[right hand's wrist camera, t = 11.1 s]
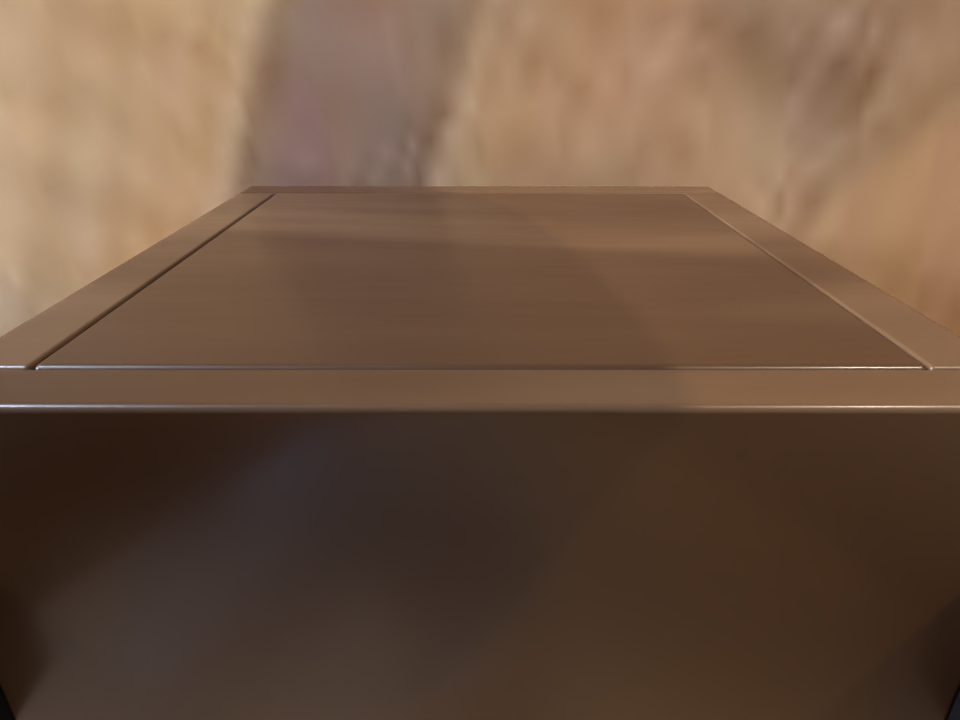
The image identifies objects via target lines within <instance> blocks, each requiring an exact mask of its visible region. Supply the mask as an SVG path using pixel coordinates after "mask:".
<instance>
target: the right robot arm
mask: <svg viewBox="0 0 960 720" xmlns="http://www.w3.org/2000/svg"><path fill="white" fill-rule="evenodd" d="M0 720H14V718H13V715H12V713H11V711H10V708H9V706H8V703H7V701H6V699H5V696H4V694H3V691H2V689H1V687H0ZM946 720H960V687H959V689H958V691H957V694H956V696H955V699H954V701H953V703H952V706H951V708H950V711H949V713H948V715H947V718H946Z"/></svg>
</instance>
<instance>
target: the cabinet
mask: <svg viewBox="0 0 960 720" xmlns="http://www.w3.org/2000/svg"><path fill="white" fill-rule="evenodd" d="M0 687H1V689H2V691H3V694H4V696H5V699H6V701H7V703H8V706H9V708H10V711H11V713H12V715H13V718H14V720H946V718H947V715H948V713H949V711H950V708H951V706H952V703H953V701H954V699H955V696H956V694H957V691H958V689H959V687H960V337H959V336H958V335H956V334H954V333H953V332H951V331H949V330H948V329H946V328H944V327H943V326H941V325H939V324H938V323H936V322H934V321H933V320H931V319H929V318H927V317H926V316H924V315H922V314H921V313H919V312H917V311H916V310H914V309H912V308H911V307H909V306H907V305H906V304H904V303H902V302H901V301H899V300H897V299H896V298H894V297H892V296H891V295H889V294H887V293H886V292H884V291H882V290H881V289H879V288H877V287H876V286H874V285H872V284H871V283H869V282H867V281H866V280H864V279H862V278H861V277H859V276H857V275H855V274H854V273H852V272H850V271H849V270H847V269H845V268H844V267H842V266H840V265H839V264H837V263H835V262H834V261H832V260H830V259H829V258H827V257H825V256H824V255H822V254H820V253H819V252H817V251H815V250H814V249H812V248H810V247H809V246H807V245H805V244H804V243H802V242H800V241H799V240H797V239H795V238H794V237H792V236H790V235H789V234H787V233H785V232H783V231H782V230H780V229H778V228H777V227H775V226H773V225H772V224H770V223H768V222H767V221H765V220H763V219H762V218H760V217H758V216H757V215H755V214H753V213H752V212H750V211H748V210H747V209H745V208H743V207H742V206H740V205H738V204H737V203H735V202H733V201H732V200H730V199H728V198H727V197H725V196H723V195H722V194H719V193H718V192H716V191H714V190H713V189H711V188H709V187H280V186H252V187H250V188H248V189H246V190H245V191H243V192H241V193H240V194H238V195H236V196H234V197H233V198H231V199H229V200H228V201H226V202H224V203H223V204H221V205H220V206H218V207H216V208H215V209H213V210H211V211H210V212H208V213H206V214H205V215H203V216H201V217H200V218H198V219H196V220H195V221H193V222H191V223H190V224H188V225H186V226H185V227H183V228H181V229H180V230H178V231H176V232H175V233H173V234H171V235H170V236H168V237H166V238H165V239H163V240H161V241H160V242H158V243H156V244H155V245H153V246H151V247H150V248H148V249H146V250H145V251H143V252H141V253H140V254H138V255H136V256H135V257H133V258H131V259H130V260H128V261H126V262H125V263H123V264H121V265H120V266H118V267H116V268H115V269H113V270H111V271H110V272H108V273H106V274H105V275H103V276H101V277H100V278H98V279H96V280H95V281H93V282H91V283H90V284H88V285H86V286H85V287H83V288H81V289H80V290H78V291H76V292H75V293H73V294H71V295H70V296H68V297H66V298H65V299H63V300H61V301H60V302H58V303H56V304H55V305H53V306H51V307H50V308H48V309H46V310H45V311H43V312H41V313H40V314H38V315H36V316H35V317H33V318H31V319H30V320H28V321H26V322H25V323H23V324H21V325H20V326H18V327H16V328H15V329H13V330H12V331H10V332H8V333H7V334H5V335H3V336H2V337H0Z"/></svg>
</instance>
